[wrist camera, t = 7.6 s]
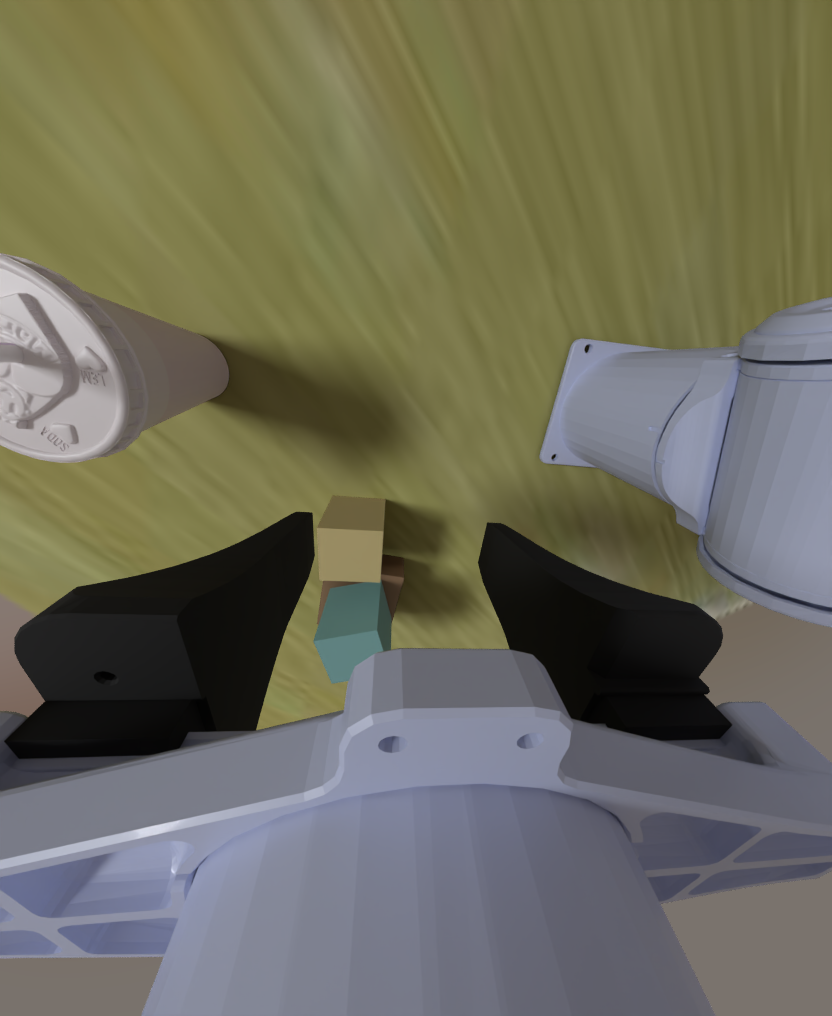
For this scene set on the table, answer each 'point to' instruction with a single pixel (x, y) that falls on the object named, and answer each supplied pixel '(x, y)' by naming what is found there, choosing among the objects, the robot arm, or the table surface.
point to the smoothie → (90, 368)
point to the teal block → (352, 628)
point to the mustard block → (351, 539)
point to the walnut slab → (389, 576)
